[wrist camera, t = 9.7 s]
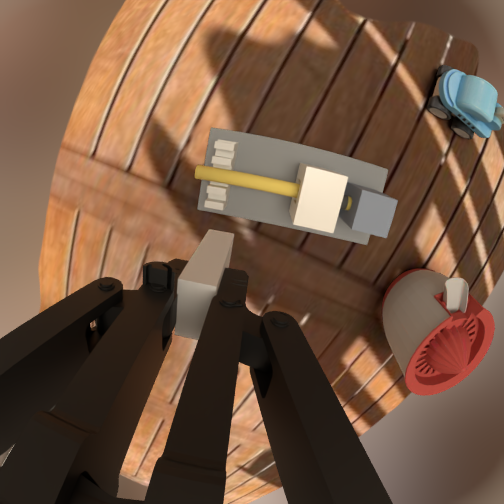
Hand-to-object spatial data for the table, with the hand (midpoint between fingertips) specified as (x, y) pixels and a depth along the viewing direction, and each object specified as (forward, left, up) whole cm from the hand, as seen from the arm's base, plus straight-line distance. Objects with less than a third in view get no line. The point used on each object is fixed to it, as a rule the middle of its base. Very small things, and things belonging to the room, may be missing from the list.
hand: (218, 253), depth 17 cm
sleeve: (+9, +2, -24) cm, 25 cm away
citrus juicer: (+31, -11, -25) cm, 42 cm away
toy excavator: (+32, +22, -25) cm, 46 cm away
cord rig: (+6, +2, -25) cm, 25 cm away
